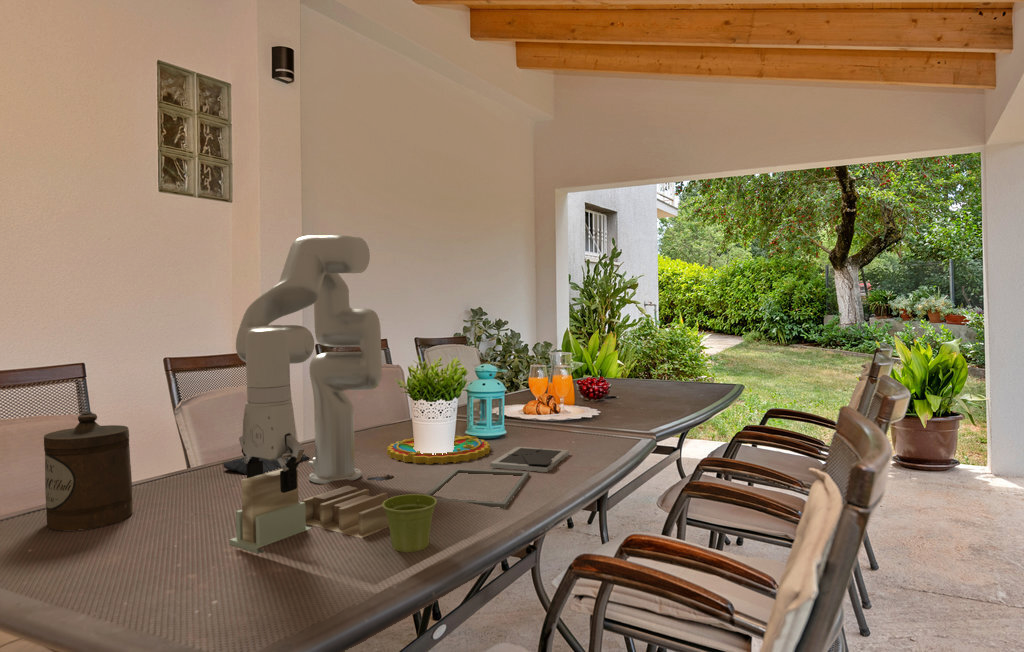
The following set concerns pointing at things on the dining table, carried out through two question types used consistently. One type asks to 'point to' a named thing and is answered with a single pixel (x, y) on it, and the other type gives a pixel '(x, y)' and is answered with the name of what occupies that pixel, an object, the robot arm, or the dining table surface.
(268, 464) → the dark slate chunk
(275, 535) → the green stand
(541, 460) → the grey-brown pointed piece
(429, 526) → the plant pot
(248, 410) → the robot arm
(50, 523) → the wooden container
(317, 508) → the walnut offcut
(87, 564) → the dining table surface
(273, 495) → the maple block
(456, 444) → the decorative plaque
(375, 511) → the offcut rack
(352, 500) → the walnut offcut
